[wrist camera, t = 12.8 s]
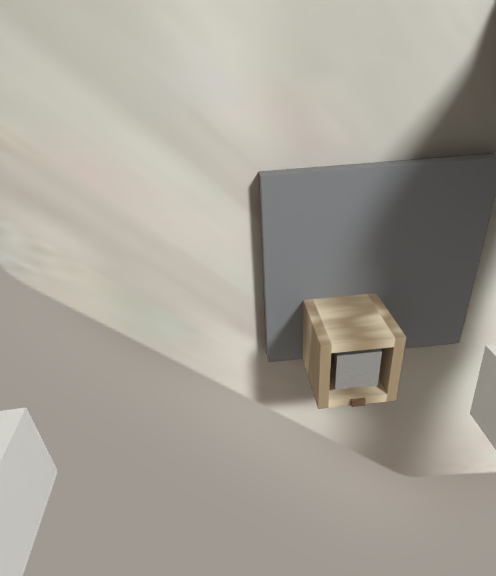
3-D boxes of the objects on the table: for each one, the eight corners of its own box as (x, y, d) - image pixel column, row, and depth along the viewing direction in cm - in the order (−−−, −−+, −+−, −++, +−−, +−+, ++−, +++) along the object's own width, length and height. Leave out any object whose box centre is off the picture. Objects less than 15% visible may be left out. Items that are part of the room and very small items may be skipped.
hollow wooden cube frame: (376, 293, 41) (407, 339, 35) (369, 351, 44) (397, 403, 38) (303, 299, 41) (321, 347, 34) (302, 358, 44) (319, 411, 38)
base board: (493, 153, 37) (503, 157, 35) (452, 334, 46) (459, 343, 45) (258, 171, 36) (261, 176, 34) (266, 352, 45) (268, 362, 44)
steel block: (353, 301, 43) (382, 351, 36) (351, 332, 45) (377, 385, 38) (315, 304, 43) (337, 355, 36) (314, 335, 45) (335, 390, 38)
